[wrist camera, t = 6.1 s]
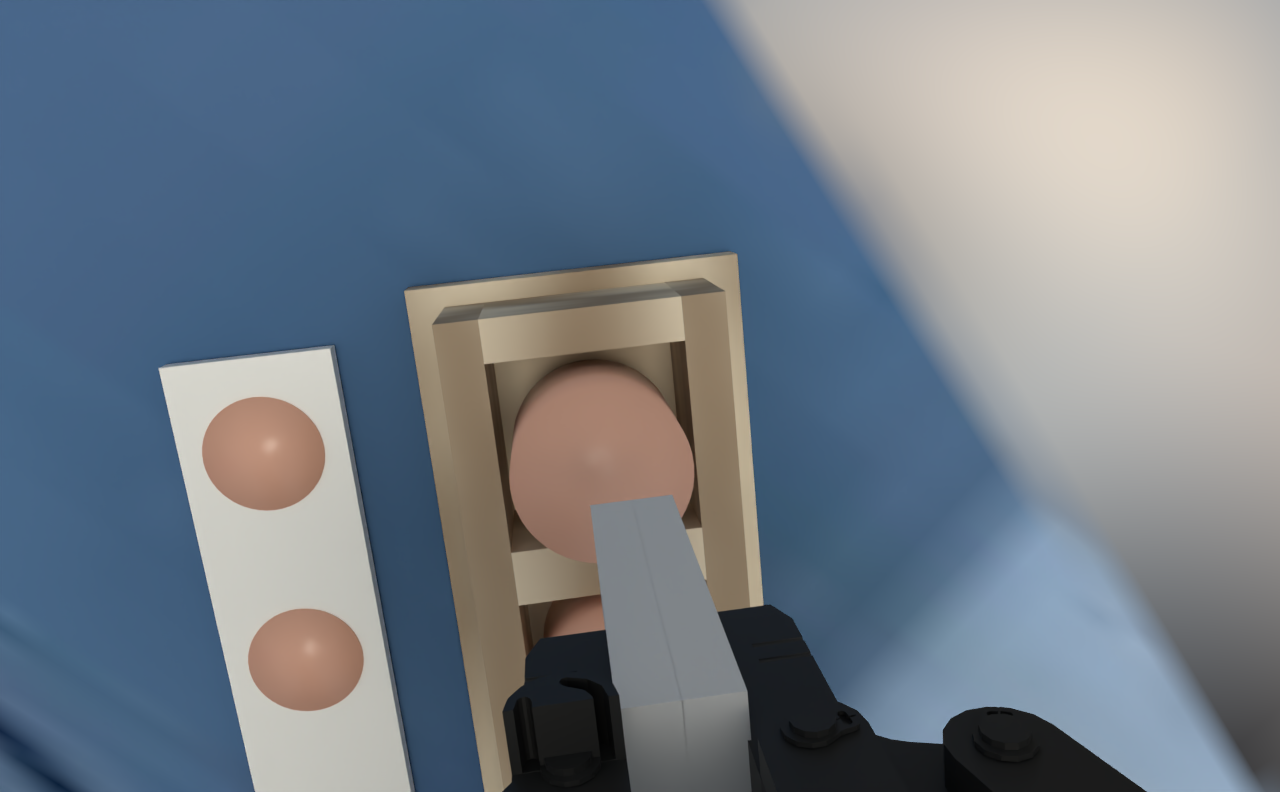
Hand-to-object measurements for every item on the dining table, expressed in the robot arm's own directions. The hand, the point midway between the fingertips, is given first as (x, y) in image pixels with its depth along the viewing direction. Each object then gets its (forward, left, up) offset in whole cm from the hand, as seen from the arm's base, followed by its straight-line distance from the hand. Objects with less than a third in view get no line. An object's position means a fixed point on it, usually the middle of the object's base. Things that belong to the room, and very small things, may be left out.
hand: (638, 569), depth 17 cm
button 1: (0, 0, -10) cm, 10 cm away
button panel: (0, -7, -13) cm, 15 cm away
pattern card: (-10, -7, -13) cm, 18 cm away
